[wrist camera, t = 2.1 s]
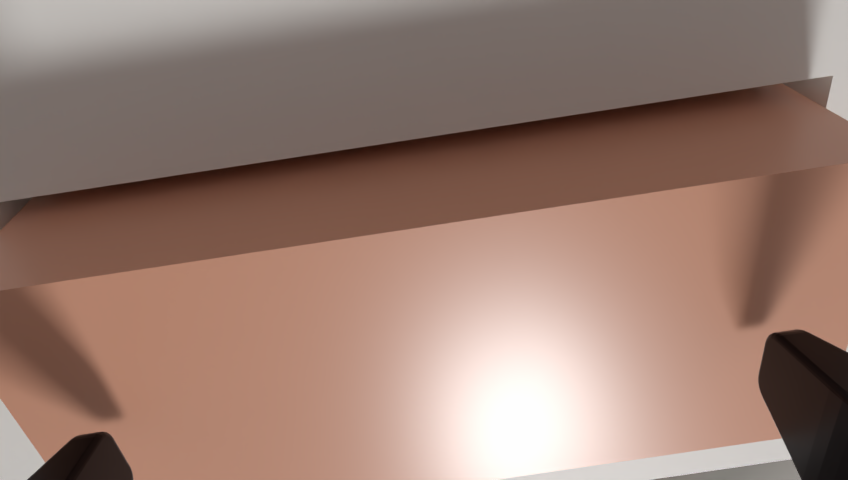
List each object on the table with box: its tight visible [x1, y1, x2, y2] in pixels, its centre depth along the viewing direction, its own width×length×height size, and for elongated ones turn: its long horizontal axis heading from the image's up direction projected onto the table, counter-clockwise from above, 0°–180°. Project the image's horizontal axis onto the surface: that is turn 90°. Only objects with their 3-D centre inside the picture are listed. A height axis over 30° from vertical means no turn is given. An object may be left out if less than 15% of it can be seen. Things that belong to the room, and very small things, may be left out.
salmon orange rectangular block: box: [0, 83, 848, 480], centre depth 11 cm, size 12×5×4 cm, turn 97°
